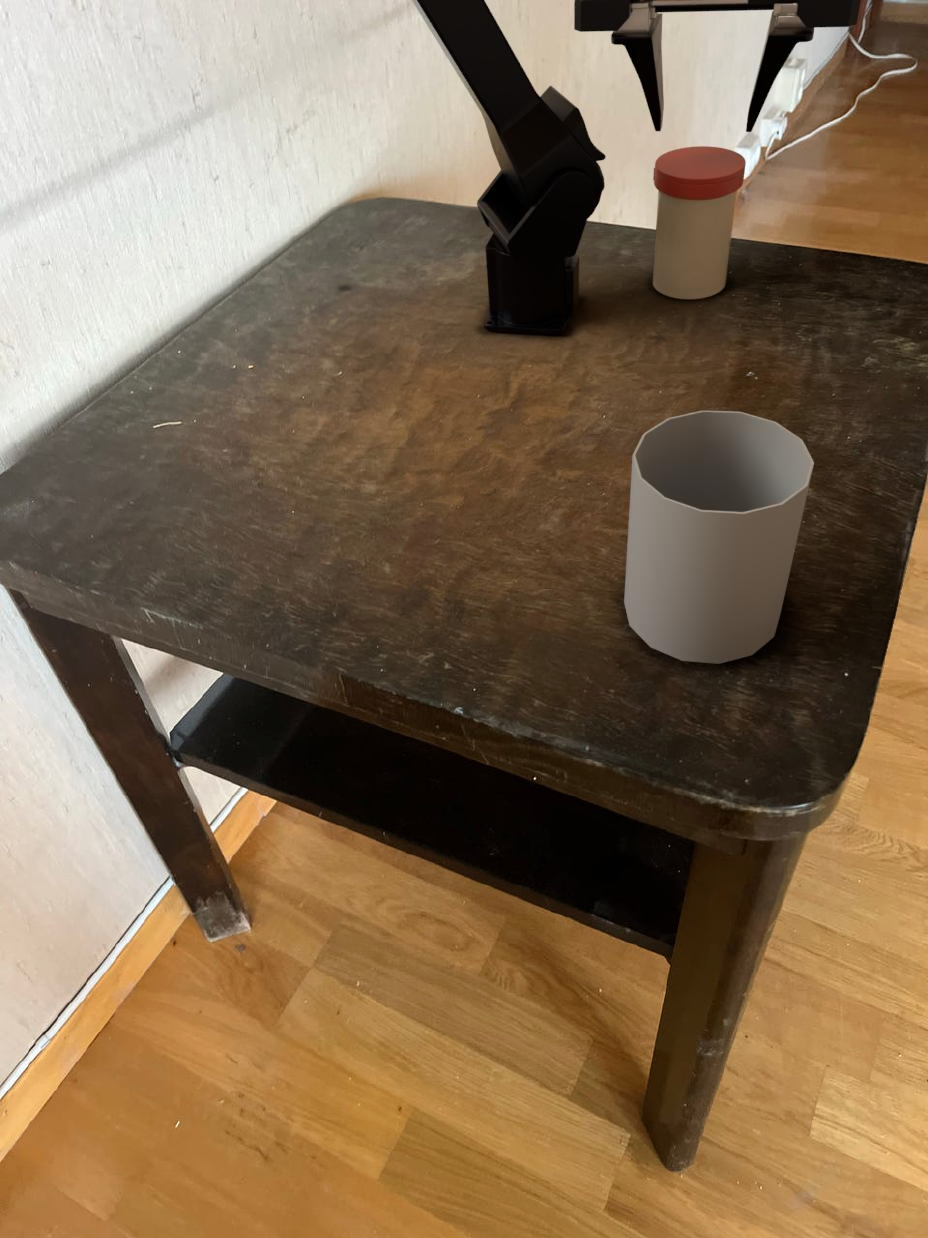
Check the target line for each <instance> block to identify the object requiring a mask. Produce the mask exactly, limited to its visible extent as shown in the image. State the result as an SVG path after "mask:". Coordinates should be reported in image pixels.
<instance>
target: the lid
mask: <svg viewBox="0 0 928 1238" xmlns="http://www.w3.org/2000/svg"><path fill="white" fill-rule="evenodd" d="M746 161H747V160H746V159H745V157H744V156H743V155H742V154H740V153H739V152H737V151H735V150H732V149H728V148H724V147H718V146H709V145H707V146H705V145H704V146H703V145H701V146H700V145H699V146H686V147H681V148H676V149H673V150H669V151H666V152H665V153H663V154H661V155H659V156H658V158H657V159H656V160H655V161H654V167H653V176H652V177H653V179H652V181H653V185H654V187H655V189H656V190H658V191H660V192H662V193H664V194H666V195H669V196H673V197H677V198H683V199H711V198H717V197H722V196H725V195H728V194H731V193H733V192H735V191H737V192H738V190H739V189H741V188H742V187H743V185H744V181H745V180H744V179H745V172H746V171H745V170H746V164H747V162H746Z"/></svg>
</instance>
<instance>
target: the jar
mask: <svg viewBox="0 0 928 1238" xmlns="http://www.w3.org/2000/svg"><path fill="white" fill-rule="evenodd" d="M737 193H738V190H737V191H735V192H733V193H731V194H728V195H725V196H722V197H717V198H711V199H683V198H677V197H673V196H669V195H666V194H664V193H662V192H660V191H659V190H658V192H657V207H656V208H657V209H656V210H657V211H656V221H655V222H656V223H655V224H656V225H655V237H654V239H655V240H654V252H653V253H654V256H653V268H652V269H653V270H652V271H653V272H652V286H653V288H654V289H655V291H657V292H658V293H660V294H661V295H664V296H666V297H669V298H673V299H679V300H700V299H706V298H710V297H712V296H714V295H717V294H719V293H721V292H722V290H724V288H725V287H726V284H727V277H728V276H727V275H728V268H729V260H730V253H731V250H730V249H731V243H732V236H733V227H734V221H735V210H736V203H737V195H738V194H737Z"/></svg>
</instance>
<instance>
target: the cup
mask: <svg viewBox="0 0 928 1238" xmlns="http://www.w3.org/2000/svg"><path fill="white" fill-rule="evenodd" d="M814 461H815V460H814V459H813V458H812V456H811V454H810V452H809V449H808V448H807V446H806V443H805V441H804V440H803V439H802V438H800V437H799V436H797V435H796V434H794V433H793V432H792V431H790V430H789V429H787V428H785V427H784V426H783V425H781V424H780V423H779V422H777V421H774V420H770V419H767V418H764V417H760V416H757V415H753V414H750V413H746V412H743V411H732V410H730V411H729V410H728V411H727V410H697V411H693V412H690V413H685V414H681V415H680V414H679V415H675V416H673V417H672V416H671V417H667V418H666V419H664V420H662V421H661V422H660V423H658V424H657V425H655V426H654V427H652V428H650V429H649V430H647V431H646V432H644V433H643V434H642V436H641V437H640V439H639V441H638V444H637V445H636V447H635V450H634V451H633V453H632V460H631V476H630V492H629V493H630V495H629V509H628V510H629V512H628V529H627V546H626V561H625V562H626V563H625V564H626V565H625V578H624V581H625V582H624V598H623V604H624V609H625V612H626V617H627V620H628V625H629V627H630V628H631V630H633V631H634V632H635V633H636V635H638V636H639V637H640V638H641V639H642V640H643V641H644V643H646V644H647V646H648V647H649V648H651V649H653V650H656V651H658V652H660V653H663V654H665V655H668V656H670V657H673V658H675V659H677V660H679V661H681V662H689V663H690V662H691V663H692V662H693V663H702V664H717V665H720V664H723V663H727V662H733V661H736V660H739V659H743V658H746V657H750V656H753V655H754V654H755V653H756V652H758V651H759V650H760V649H761V648H763V647H764V646H765V645H766V644H767V643H769V642H770V641H771V640H772V639H774V637H775V635H776V632H777V627H778V624H779V620H780V617H781V615H782V614H781V613H782V610H783V604H784V601H785V600H784V599H785V597H786V596H785V595H786V591H787V587H788V581H789V578H790V573H791V568H792V565H793V560H794V556H795V550H796V545H797V542H798V538H799V533H800V528H801V524H802V519H803V515H804V510H805V506H806V501H807V497H808V493H809V487H810V483H811V479H812V475H813V470H814V465H815V462H814Z"/></svg>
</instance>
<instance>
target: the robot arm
mask: <svg viewBox="0 0 928 1238" xmlns="http://www.w3.org/2000/svg"><path fill="white" fill-rule="evenodd" d="M411 2H412V3H413V5H414V6H415V8H416V10H417V11H418V13H419V14H420V16H421V18H422V19H423V21H424V23H425V25H426V26H427V27H428V29H429V31H430V33H431V34H432V35H433V37H434V39H435V40H436V42H437V43H438V45H439V47H440V48H441V50H442V52H443V53H444V55H445V57H446V58H447V60H448V62H449V63H450V64H451V66H452V68H453V70H454V71H455V72H456V74H457V76H458V78H459V79H460V81H461V82H462V84H463V85H464V88H465V89H466V90H467V92H468V93H469V95H470V97H471V98H472V100H473V102H474V104H475V105H476V107H477V108H478V110H479V111H480V113H481V115H482V118H483V120H484V124H485V128H486V131H487V134H488V135H487V136H488V137H489V141H490V144H491V148H492V151H493V154H494V156H495V158H496V161H497V163H498V165H499V168H500V171H499V172H498V173H497V174H496V176H495V177H494V178H493V179H492V181H491V182H490V183H489V185H488V186H487V187H486V189H485V190H484V192H483V193H482V194H481V195H480V196H479V198H478V200H477V201H476V206H477V208H478V210H479V213H480V215H481V217H482V220H483V222H484V224H485V225H486V227H487V228H489V229H490V230H491V232H492V234H491V236H490V237H489V239H488V241H487V243H486V245H485V260H486V261H485V262H486V263H485V264H486V279H487V292H488V293H487V295H488V308H489V311H488V314H487V316H486V318H485V320H484V322H483V328H484V330H485V331H490V332H506V333H521V334H522V333H524V334H527V333H528V334H539V335H541V334H542V335H557V336H558V335H563V334H564V332H565V331H566V327H567V325H568V322H569V320H570V318H572V317H574V315H575V313H576V310H577V309H578V304H579V303H580V255H579V254H578V253H577V251H578V249H579V246H580V242H581V239H582V237H583V233H584V231H585V227H586V225H587V222H588V219H589V218H590V217H591V216H592V215H593V214H594V213H595V210H596V209H597V207H598V205H599V203H600V201H601V197H602V194H603V191H604V190H605V177H604V174H603V170H602V168H601V166H600V164H599V161H600V162H601V161H605V160H606V157H607V156H606V154H604V152H602V150H600V149H599V148H598V147H597V146H596V145H595V144H594V143H593V141H592V140H591V137H590V135H589V132H588V129H587V125H586V123H585V120H584V118H583V115H582V113H581V111H580V109H579V107H578V106H576V105H575V104H574V103H573V102H571V101H570V100H569V99H568V98H567V97H565V96H564V95H563V94H562V93H561V92H559V91H558V90H557V89H556V88H555V87H553V85H549V86H548V87H547V88H546V90H545V91H543V93H541V95H539V93H538V92H537V91H536V89H535V87H534V86H533V83H532V82H531V80H530V79H529V77H528V75H527V73H526V71H525V70H524V68H523V66H522V64H521V63H520V60H519V59H518V57H517V55H516V54H515V52H514V50H513V48H512V47H511V44H510V43H509V41H508V40H507V38H506V36H505V34H504V33H503V31H502V28H501V27H500V25H499V24H498V22H497V20H496V18H495V16H494V15H493V13H492V12H491V9H490V8H489V6H488V4H487V2H486V1H485V0H411ZM861 3H862V0H574V5H573V6H574V7H573V10H574V11H573V12H574V13H573V15H574V18H573V19H574V20H573V22H574V23H573V26H574V27H573V30H574V31H577V32H580V33H583V32H584V33H585V32H586V33H589V32H590V33H591V32H612V33H611V35H610V43H611V44H612V45H614V46H615V45H617V46H618V45H619V46H624V48H625V50H626V53H627V55H628V57H629V59H630V61H631V63H632V66H633V68H634V71H635V72H636V74H637V77H638V79H639V81H640V84H641V88H642V91H643V94H644V98H645V101H646V105H647V107H648V111H649V116H650V118H651V121H652V125H653V128H654V131H655V132H661V131H662V129H663V120H664V107H665V101H664V98H665V97H664V77H663V76H664V74H663V51H662V48H663V47H662V41H663V40H662V39H663V37H662V36H663V13H695V12H697V13H698V12H735V11H736V12H739V11H740V12H741V11H745V12H747V11H771V16H770V18H769V19H770V20H769V25H768V28H767V33H766V37H765V41H764V45H763V49H762V53H761V57H760V61H759V65H758V69H757V73H756V77H755V80H754V84H753V89H752V93H751V97H750V101H749V105H748V111H747V117H746V128H745V132H746V133H751V132H753V129H754V127H755V125H756V123H757V120H758V118H759V116H760V113H761V111H762V110H763V107H764V105H765V102H766V100H767V98H768V95H769V93H770V91H771V90H772V87H773V85H774V82H775V81H776V78H777V77H778V75H779V73H780V72H781V70H782V68H783V67H784V65H785V63H786V62H787V60H788V58H789V57H790V55H791V53H792V52H793V50H794V49H795V47H796V45H797V44H798V43H799V44H800V43H808V42H811V41H813V39H814V35H815V28H849V27H852V26H855V25H858V19H859V14H860V8H861Z"/></svg>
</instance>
